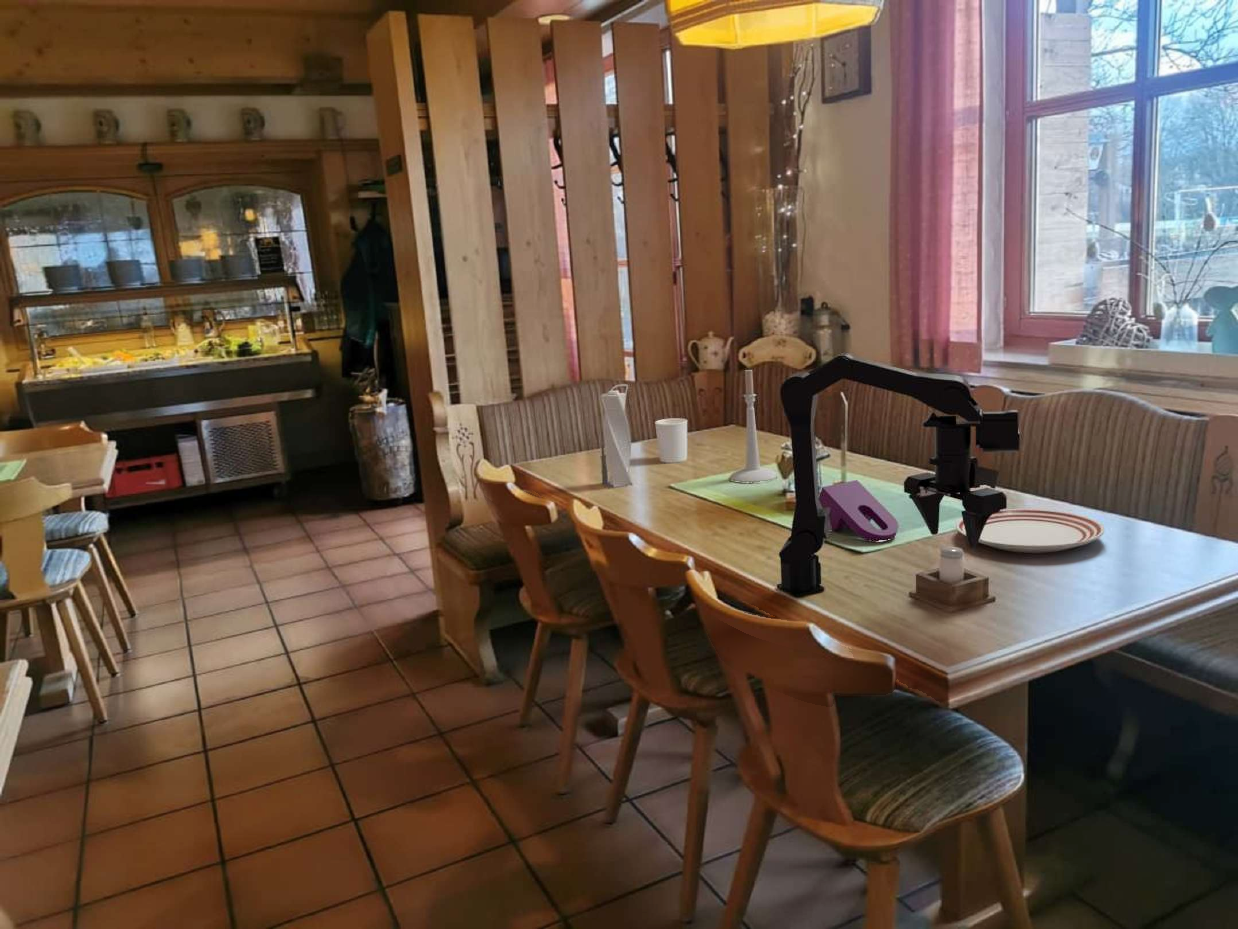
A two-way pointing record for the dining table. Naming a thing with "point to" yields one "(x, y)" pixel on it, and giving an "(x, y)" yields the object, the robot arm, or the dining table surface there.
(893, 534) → the mounting bracket
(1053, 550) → the dinner plate
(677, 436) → the white cup
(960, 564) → the salt shaker
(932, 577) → the box
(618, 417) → the skyscraper
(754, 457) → the candlestick
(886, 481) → the dining table surface
